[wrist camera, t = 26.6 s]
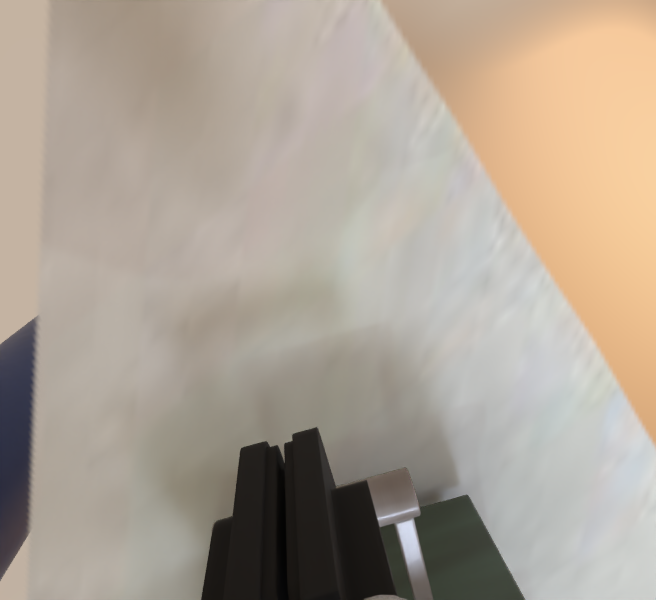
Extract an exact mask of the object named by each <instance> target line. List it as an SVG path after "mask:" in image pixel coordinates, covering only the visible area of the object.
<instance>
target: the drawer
mask: <svg viewBox="0 0 656 600" xmlns="http://www.w3.org/2000/svg"><path fill="white" fill-rule="evenodd" d="M364 480H367V482H368V486H369V489H370V493H371V496H372V500H373V504H374V507H375V511H376V515H377V518H378V522H379V526H380V530H381V533H382V537H383V541H384V545H385V549H386V552H387V556H388V560H389V564H390V568H391V572H392V576H393V580H394V583H395V587H396V591H397V595H398V597H401V598H404V599H407V600H525V598H524V597H523V595H522V593H521V591H520V589H519V587H518V586H517V584H516V582H515V580H514V578H513V576H512V575H511V573H510V571H509V569H508V567H507V565H506V564H505V562H504V560H503V558H502V556H501V554H500V552H499V551H498V549H497V547H496V545H495V543H494V541H493V540H492V538H491V536H490V534H489V532H488V530H487V529H486V527H485V525H484V523H483V521H482V519H481V518H480V516H479V514H478V512H477V510H476V508H475V507H474V505H473V503H472V501H471V499H470V497H469V496H468V495H464V496H460V497H457V498H453V499H450V500H446V501H443V502H439V503H436V504H432V505H428V506H425V507H421V508H420V507H419V503H418V499H417V496H416V492H415V489H414V486H413V483H412V480H411V477H410V475H409V472H408V470H407V469H406V468H401V469H398V470H394V471H391V472H387V473H384V474H380V475H377V476H373V477H369V478H366V479H362V480H359V481H355V482H352V483H348V484H345V485H341V486H338V487H336V488H339V487H342V486H346V485H350V484H353V483H357V482H361V481H364ZM231 517H233V516H231ZM228 518H229V517H228ZM224 519H226V518H224ZM221 520H222V519H221ZM217 521H218V520H217ZM215 523H216V521H215V522H214V524H215ZM214 524H213V527H214ZM212 531H213V528H212Z"/></svg>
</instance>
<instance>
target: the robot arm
mask: <svg viewBox="0 0 656 600" xmlns="http://www.w3.org/2000/svg"><path fill="white" fill-rule="evenodd" d="M292 439H293V441H291V442H287V443H285V444H284V453H285V463H284V460H283V457H282V454H281V452H280V449H279V447H278V446H277V445H276V446H273V447H270V446H269V444H268V442H267V441H265V442H261V443H257V444H254V445H250V446H246V447H243V448H241V450H240V458H239V466H238V475H237V483H236V492H235V501H234V509H233V517H229V518H226V519H222V520H218V521H216V523H215V524H214V527H213V531H212V537H211V543H210V549H209V555H208V561H207V568H206V574H205V580H204V586H203V592H202V598H201V600H407V599H404V598H401V597H398V595H397V591H396V587H395V583H394V580H393V576H392V572H391V568H390V564H389V560H388V556H387V552H386V549H385V545H384V541H383V537H382V533H381V530H380V526H379V522H378V518H377V515H376V511H375V507H374V504H373V500H372V496H371V493H370V489H369V486H368V482H367V480H364V481H361V482H357V483H353V484H350V485H346V486H342V487H339V488H336V486H335V483H334V479H333V476H332V473H331V469H330V466H329V463H328V459H327V456H326V453H325V450H324V446H323V443H322V440H321V436H320V433H319V430H318V428H317V427H316V428H312V429H309V430H305V431H301V432H298V433H294V434H293V435H292Z"/></svg>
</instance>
